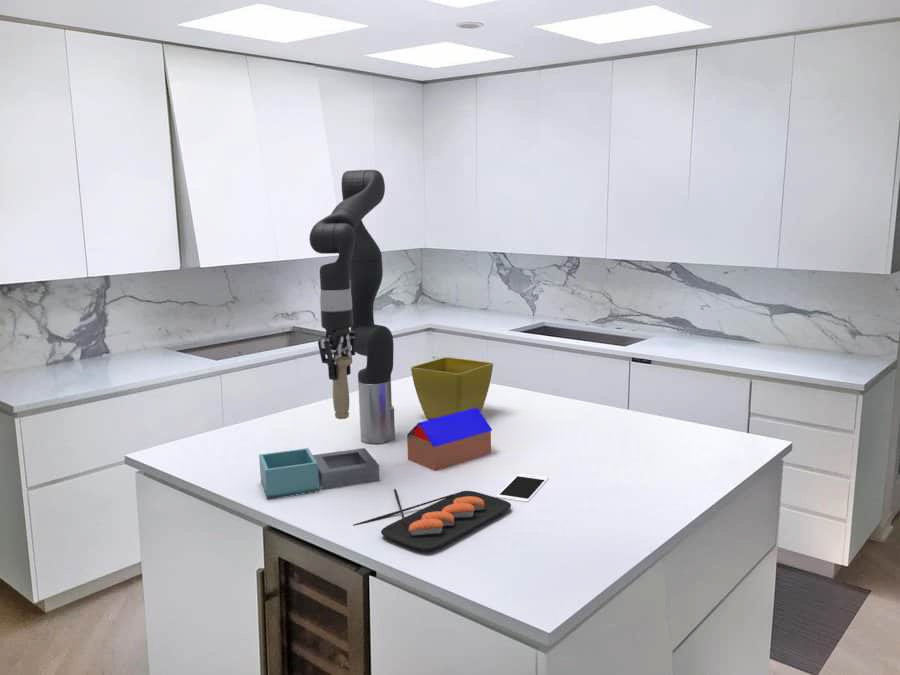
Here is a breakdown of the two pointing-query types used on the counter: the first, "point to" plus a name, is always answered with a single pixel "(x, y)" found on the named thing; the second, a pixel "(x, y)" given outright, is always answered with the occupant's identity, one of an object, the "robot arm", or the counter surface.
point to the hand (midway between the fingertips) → (340, 376)
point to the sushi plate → (442, 519)
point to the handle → (341, 388)
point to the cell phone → (522, 487)
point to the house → (449, 439)
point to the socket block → (346, 468)
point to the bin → (288, 473)
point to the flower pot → (451, 385)
